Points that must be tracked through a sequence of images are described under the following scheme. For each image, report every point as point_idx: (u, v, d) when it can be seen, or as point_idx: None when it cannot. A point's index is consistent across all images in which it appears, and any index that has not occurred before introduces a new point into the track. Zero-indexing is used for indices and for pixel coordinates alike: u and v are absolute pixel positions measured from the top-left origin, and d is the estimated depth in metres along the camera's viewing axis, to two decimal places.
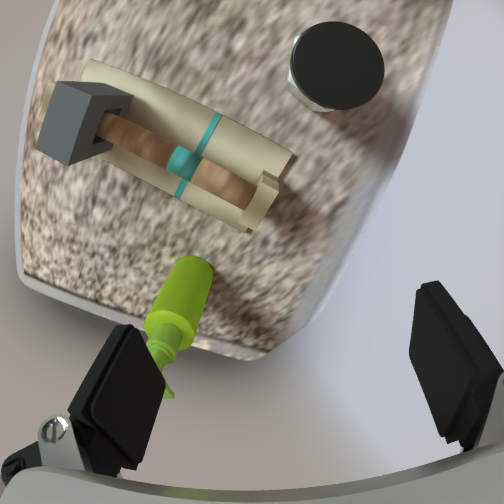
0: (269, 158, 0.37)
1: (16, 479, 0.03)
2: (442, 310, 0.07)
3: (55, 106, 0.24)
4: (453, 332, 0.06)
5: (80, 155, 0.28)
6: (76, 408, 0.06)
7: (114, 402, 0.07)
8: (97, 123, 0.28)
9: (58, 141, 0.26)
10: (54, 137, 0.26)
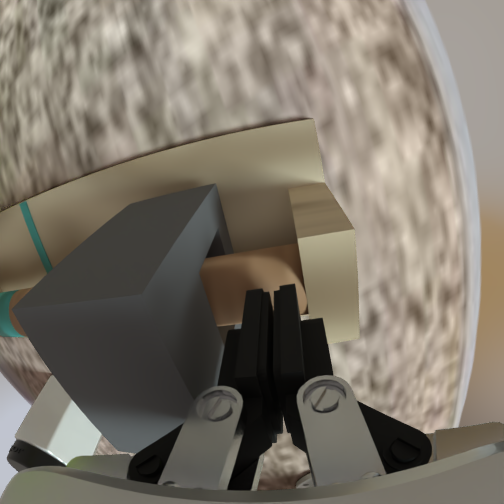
0: None
1: (16, 479, 0.03)
2: (280, 311, 0.09)
3: None
4: (278, 332, 0.08)
5: None
6: (247, 373, 0.07)
7: (271, 365, 0.08)
8: None
9: (84, 358, 0.08)
10: (105, 363, 0.08)
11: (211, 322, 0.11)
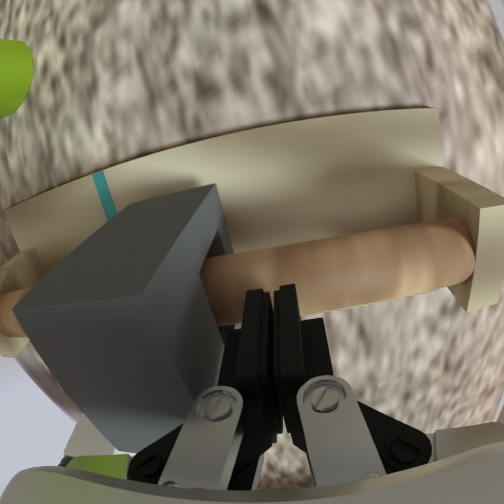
0: None
1: (16, 479, 0.03)
2: (280, 311, 0.09)
3: None
4: (278, 332, 0.08)
5: None
6: (247, 373, 0.07)
7: (271, 365, 0.08)
8: None
9: (84, 359, 0.08)
10: (105, 363, 0.08)
11: (211, 322, 0.11)
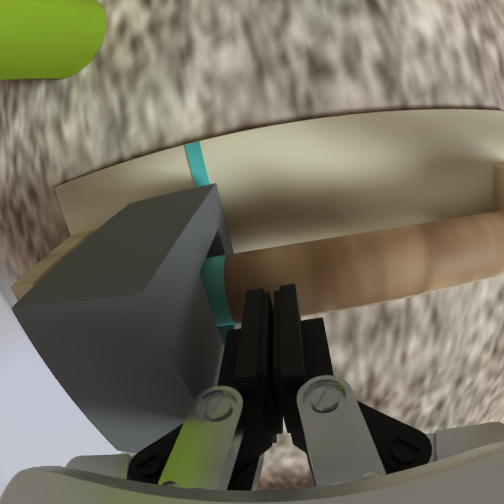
0: None
1: (16, 479, 0.03)
2: (280, 311, 0.09)
3: None
4: (278, 332, 0.08)
5: None
6: (247, 373, 0.07)
7: (271, 365, 0.08)
8: None
9: (84, 358, 0.08)
10: (105, 363, 0.08)
11: (211, 322, 0.11)
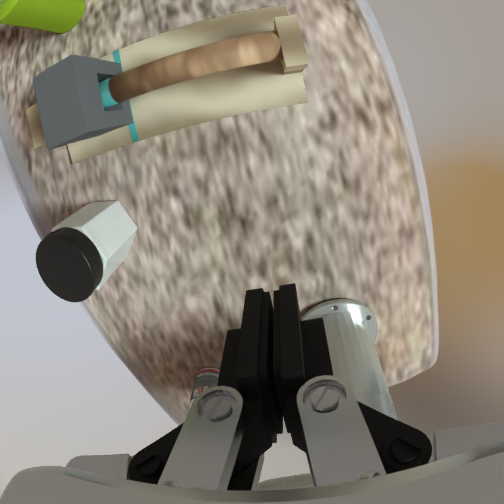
0: (80, 146, 0.34)
1: (16, 479, 0.03)
2: (280, 311, 0.09)
3: (72, 110, 0.22)
4: (278, 332, 0.08)
5: None
6: (247, 373, 0.07)
7: (271, 365, 0.08)
8: None
9: (51, 86, 0.21)
10: (57, 85, 0.21)
11: (97, 89, 0.24)
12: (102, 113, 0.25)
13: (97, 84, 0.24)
